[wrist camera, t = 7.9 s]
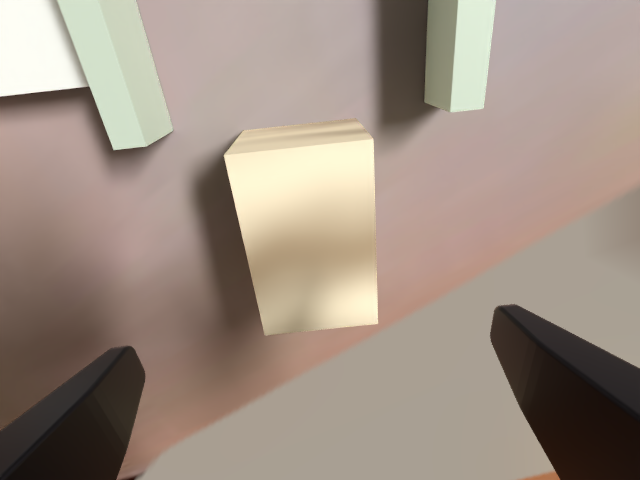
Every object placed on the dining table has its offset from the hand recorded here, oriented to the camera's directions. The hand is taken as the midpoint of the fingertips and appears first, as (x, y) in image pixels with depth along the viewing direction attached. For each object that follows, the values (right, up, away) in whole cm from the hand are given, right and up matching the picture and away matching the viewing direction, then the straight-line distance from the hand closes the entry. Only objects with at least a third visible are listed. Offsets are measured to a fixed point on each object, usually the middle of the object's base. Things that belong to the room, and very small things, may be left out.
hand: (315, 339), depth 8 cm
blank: (0, +4, +9) cm, 10 cm away
